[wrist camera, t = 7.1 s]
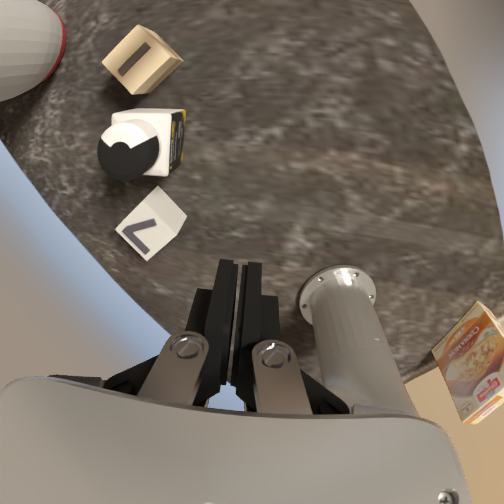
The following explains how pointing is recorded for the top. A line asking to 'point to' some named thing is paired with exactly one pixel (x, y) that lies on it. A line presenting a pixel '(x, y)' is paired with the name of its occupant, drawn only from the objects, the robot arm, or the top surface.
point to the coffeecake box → (473, 363)
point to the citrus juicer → (28, 45)
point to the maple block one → (141, 61)
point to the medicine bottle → (142, 143)
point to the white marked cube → (152, 223)
